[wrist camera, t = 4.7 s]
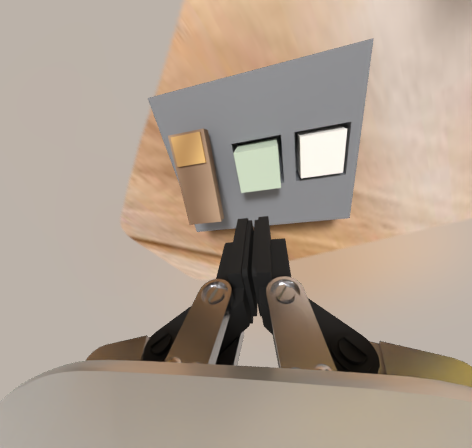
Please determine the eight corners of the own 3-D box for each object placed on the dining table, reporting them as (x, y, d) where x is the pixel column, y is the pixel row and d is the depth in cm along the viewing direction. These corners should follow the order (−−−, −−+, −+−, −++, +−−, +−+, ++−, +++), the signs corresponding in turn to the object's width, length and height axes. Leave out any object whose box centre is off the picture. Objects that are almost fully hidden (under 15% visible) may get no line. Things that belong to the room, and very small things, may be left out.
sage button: (276, 137, 18) (277, 145, 15) (279, 175, 20) (281, 187, 17) (238, 144, 19) (233, 153, 16) (244, 180, 21) (241, 192, 18)
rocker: (207, 130, 17) (202, 127, 15) (224, 217, 19) (220, 222, 18) (174, 137, 17) (166, 135, 16) (194, 220, 20) (188, 225, 19)
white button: (335, 123, 18) (347, 128, 15) (332, 162, 20) (343, 172, 17) (295, 131, 19) (300, 137, 16) (296, 167, 21) (300, 178, 18)
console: (351, 49, 16) (380, 34, 12) (337, 200, 23) (352, 223, 19) (167, 97, 20) (141, 98, 16) (205, 215, 27) (194, 236, 23)
